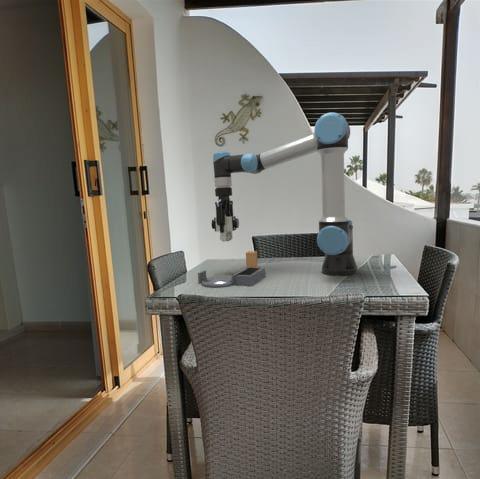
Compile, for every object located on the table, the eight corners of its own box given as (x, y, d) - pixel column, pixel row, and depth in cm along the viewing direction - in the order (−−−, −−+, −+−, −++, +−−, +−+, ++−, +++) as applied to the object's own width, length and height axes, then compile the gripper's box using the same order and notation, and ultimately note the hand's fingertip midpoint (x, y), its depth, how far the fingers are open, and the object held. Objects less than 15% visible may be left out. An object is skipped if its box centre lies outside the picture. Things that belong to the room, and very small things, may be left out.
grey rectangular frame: (265, 276, 156) (265, 267, 155) (251, 286, 140) (251, 276, 140) (247, 275, 159) (247, 267, 159) (232, 285, 144) (231, 275, 143)
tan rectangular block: (258, 272, 165) (257, 251, 164) (255, 274, 161) (253, 252, 160) (250, 272, 167) (248, 251, 165) (246, 274, 163) (245, 252, 162)
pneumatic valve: (237, 241, 157) (236, 214, 156) (212, 242, 160) (210, 215, 159) (240, 239, 163) (238, 213, 161) (216, 240, 165) (214, 214, 164)
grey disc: (246, 279, 152) (245, 269, 151) (231, 288, 138) (231, 277, 138) (209, 278, 159) (208, 268, 158) (192, 286, 145) (191, 275, 145)
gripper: (224, 187, 168) (227, 236, 171) (205, 187, 152) (209, 241, 154) (239, 186, 165) (242, 236, 168) (221, 186, 149) (225, 241, 151)
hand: (226, 238), depth 161 cm, fingers closed on pneumatic valve, 5 cm apart
